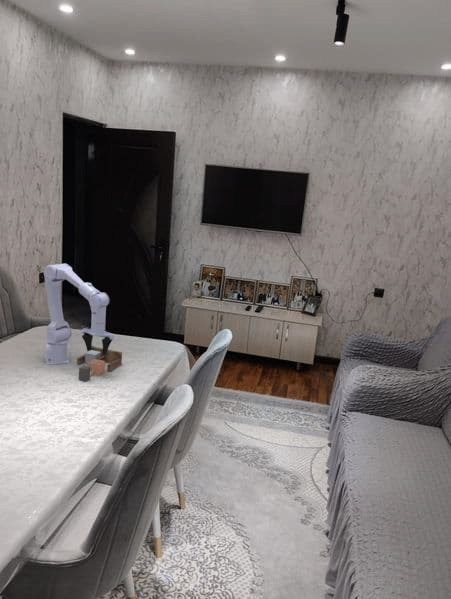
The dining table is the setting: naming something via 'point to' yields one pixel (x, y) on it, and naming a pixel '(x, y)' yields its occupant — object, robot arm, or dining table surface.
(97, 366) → the block
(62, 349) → the robot arm
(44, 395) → the dining table surface
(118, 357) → the shelf lanes
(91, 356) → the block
